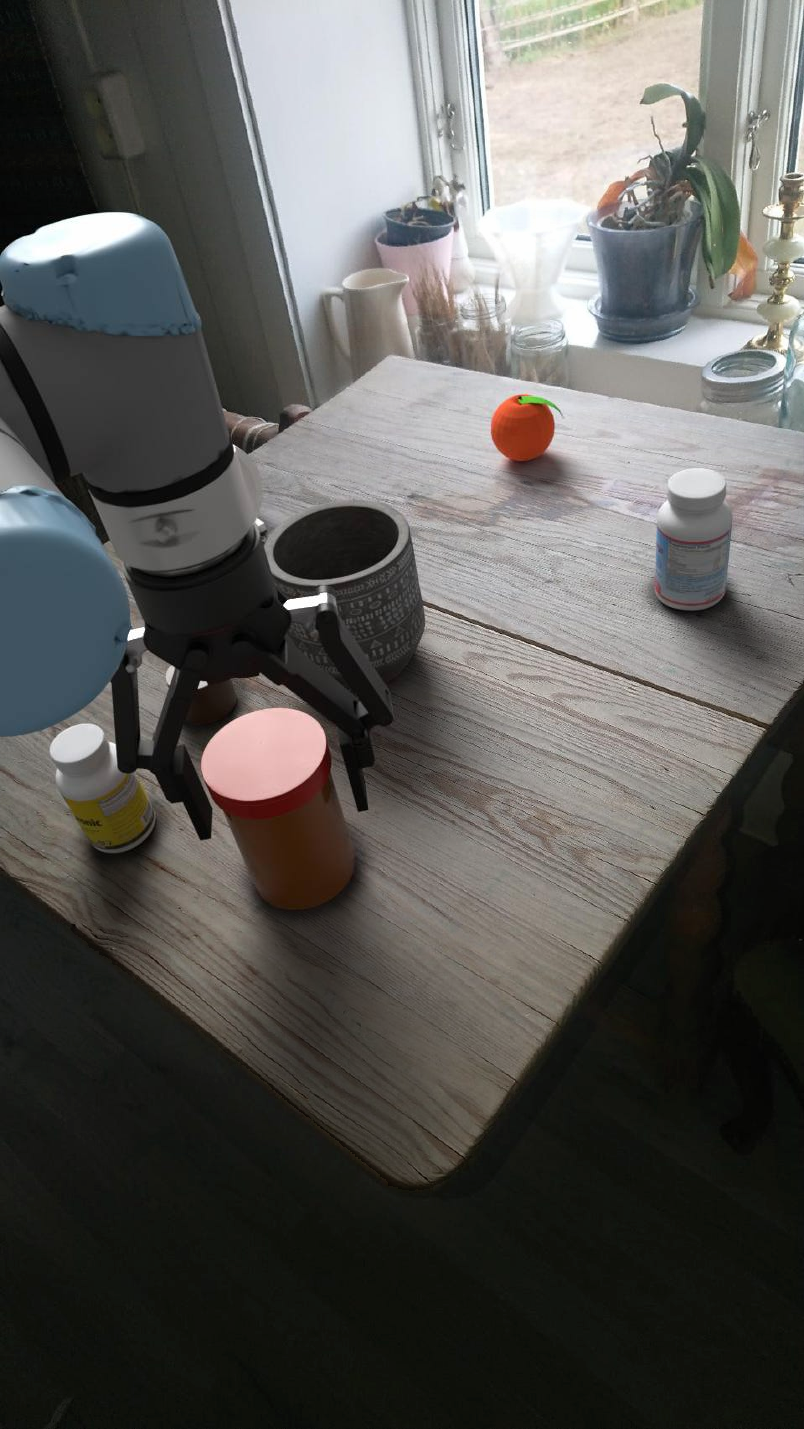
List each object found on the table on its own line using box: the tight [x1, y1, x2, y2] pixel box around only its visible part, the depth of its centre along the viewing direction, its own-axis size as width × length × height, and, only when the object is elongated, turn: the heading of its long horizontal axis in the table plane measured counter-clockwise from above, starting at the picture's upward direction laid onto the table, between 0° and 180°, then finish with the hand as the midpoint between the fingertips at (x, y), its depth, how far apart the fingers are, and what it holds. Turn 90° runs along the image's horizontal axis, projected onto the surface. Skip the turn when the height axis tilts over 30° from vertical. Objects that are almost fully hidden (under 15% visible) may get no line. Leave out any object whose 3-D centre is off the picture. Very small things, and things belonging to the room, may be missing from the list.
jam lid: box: [200, 707, 333, 820], centre depth 63 cm, size 8×8×2 cm
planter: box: [263, 499, 426, 692], centre depth 83 cm, size 12×12×13 cm
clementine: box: [490, 393, 565, 462], centre depth 105 cm, size 8×7×7 cm
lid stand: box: [164, 664, 238, 726], centre depth 84 cm, size 5×5×4 cm
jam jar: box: [222, 771, 356, 911], centre depth 67 cm, size 8×8×12 cm
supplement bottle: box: [49, 723, 157, 854], centre depth 73 cm, size 5×5×10 cm
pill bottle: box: [654, 467, 733, 611], centre depth 83 cm, size 6×6×11 cm
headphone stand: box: [233, 444, 267, 534], centre depth 102 cm, size 5×6×12 cm
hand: (284, 810), depth 67 cm, fingers open, 10 cm apart
